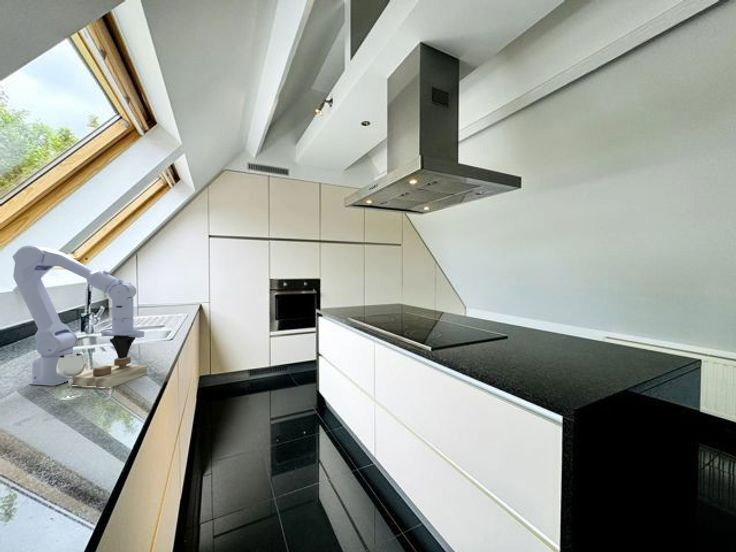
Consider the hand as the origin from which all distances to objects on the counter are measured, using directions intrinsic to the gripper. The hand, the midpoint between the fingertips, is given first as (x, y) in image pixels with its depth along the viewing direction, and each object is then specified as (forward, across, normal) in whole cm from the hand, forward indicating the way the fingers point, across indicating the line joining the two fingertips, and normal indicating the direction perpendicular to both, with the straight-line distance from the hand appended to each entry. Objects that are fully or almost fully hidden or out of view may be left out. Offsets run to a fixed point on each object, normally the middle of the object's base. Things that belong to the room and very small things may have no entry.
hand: (122, 357), depth 104 cm
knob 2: (+5, 0, 0) cm, 5 cm away
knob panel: (+6, -1, -4) cm, 7 cm away
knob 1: (+6, 0, -7) cm, 9 cm away
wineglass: (+7, +2, -18) cm, 19 cm away
